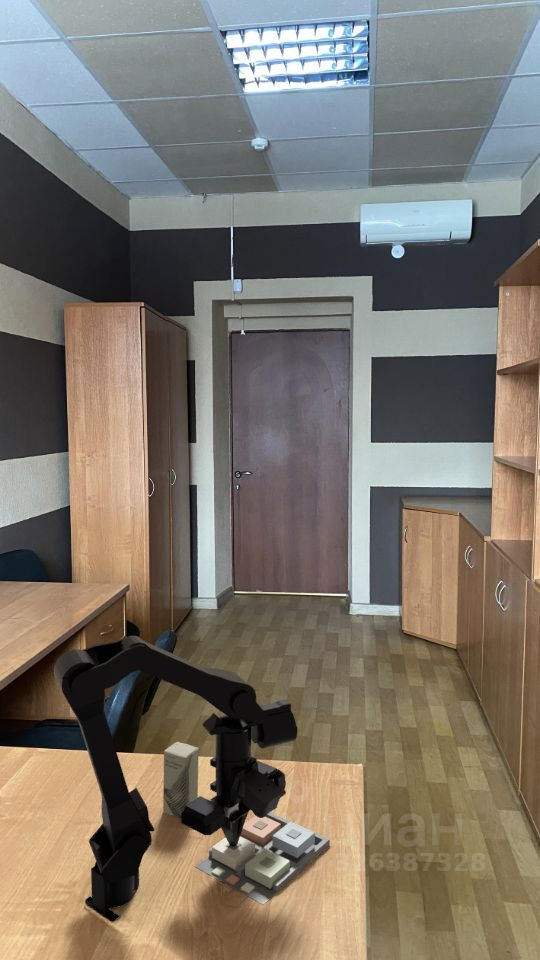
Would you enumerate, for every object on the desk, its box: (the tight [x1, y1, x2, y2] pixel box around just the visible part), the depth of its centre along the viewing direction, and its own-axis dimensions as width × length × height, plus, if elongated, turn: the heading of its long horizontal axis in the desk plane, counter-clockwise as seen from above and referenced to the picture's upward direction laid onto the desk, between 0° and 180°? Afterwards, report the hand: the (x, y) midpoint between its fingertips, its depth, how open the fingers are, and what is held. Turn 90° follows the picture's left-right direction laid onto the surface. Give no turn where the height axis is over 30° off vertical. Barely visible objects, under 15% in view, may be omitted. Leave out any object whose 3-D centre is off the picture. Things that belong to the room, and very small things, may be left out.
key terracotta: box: [240, 815, 281, 847], centre depth 118 cm, size 5×5×2 cm
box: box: [162, 741, 200, 819], centre depth 126 cm, size 5×4×13 cm
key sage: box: [245, 849, 290, 889], centre depth 108 cm, size 5×5×2 cm
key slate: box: [272, 821, 316, 858], centre depth 114 cm, size 5×5×2 cm
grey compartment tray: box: [194, 812, 331, 906], centre depth 113 cm, size 18×14×2 cm
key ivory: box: [211, 836, 255, 870], centre depth 112 cm, size 5×5×2 cm
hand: (233, 844), depth 112 cm, fingers closed, pressing on key ivory
